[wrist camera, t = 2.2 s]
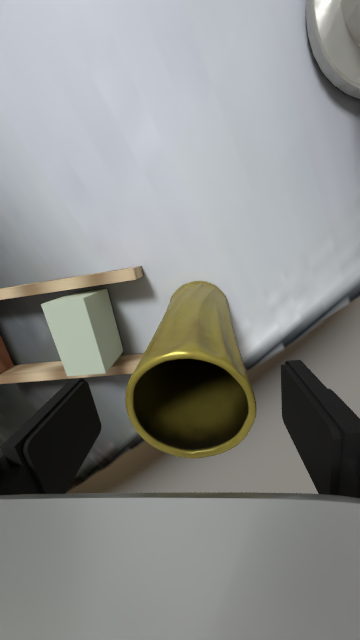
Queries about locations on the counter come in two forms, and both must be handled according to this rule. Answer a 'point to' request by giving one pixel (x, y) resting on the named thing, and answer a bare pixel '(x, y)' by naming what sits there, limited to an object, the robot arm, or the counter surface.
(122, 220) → the counter surface
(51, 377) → the track
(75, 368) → the block
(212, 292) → the vase
